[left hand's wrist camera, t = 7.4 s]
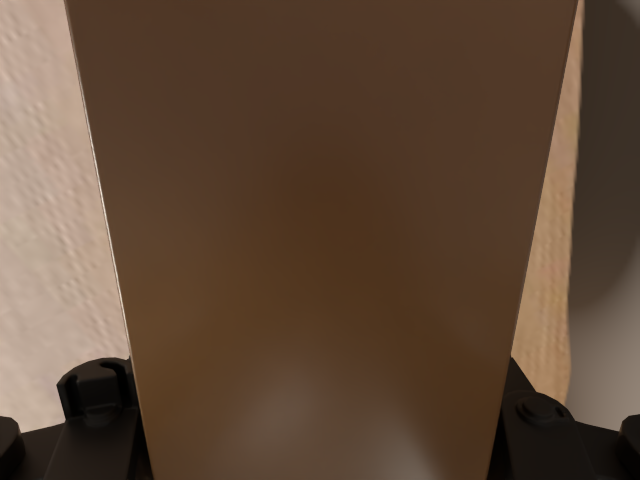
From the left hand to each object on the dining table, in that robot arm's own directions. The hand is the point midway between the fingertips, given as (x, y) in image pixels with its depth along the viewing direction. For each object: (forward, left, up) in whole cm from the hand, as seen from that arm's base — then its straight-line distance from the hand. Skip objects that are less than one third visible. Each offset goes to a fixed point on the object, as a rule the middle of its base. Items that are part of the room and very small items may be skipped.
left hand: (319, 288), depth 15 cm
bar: (+7, 0, -1) cm, 7 cm away
